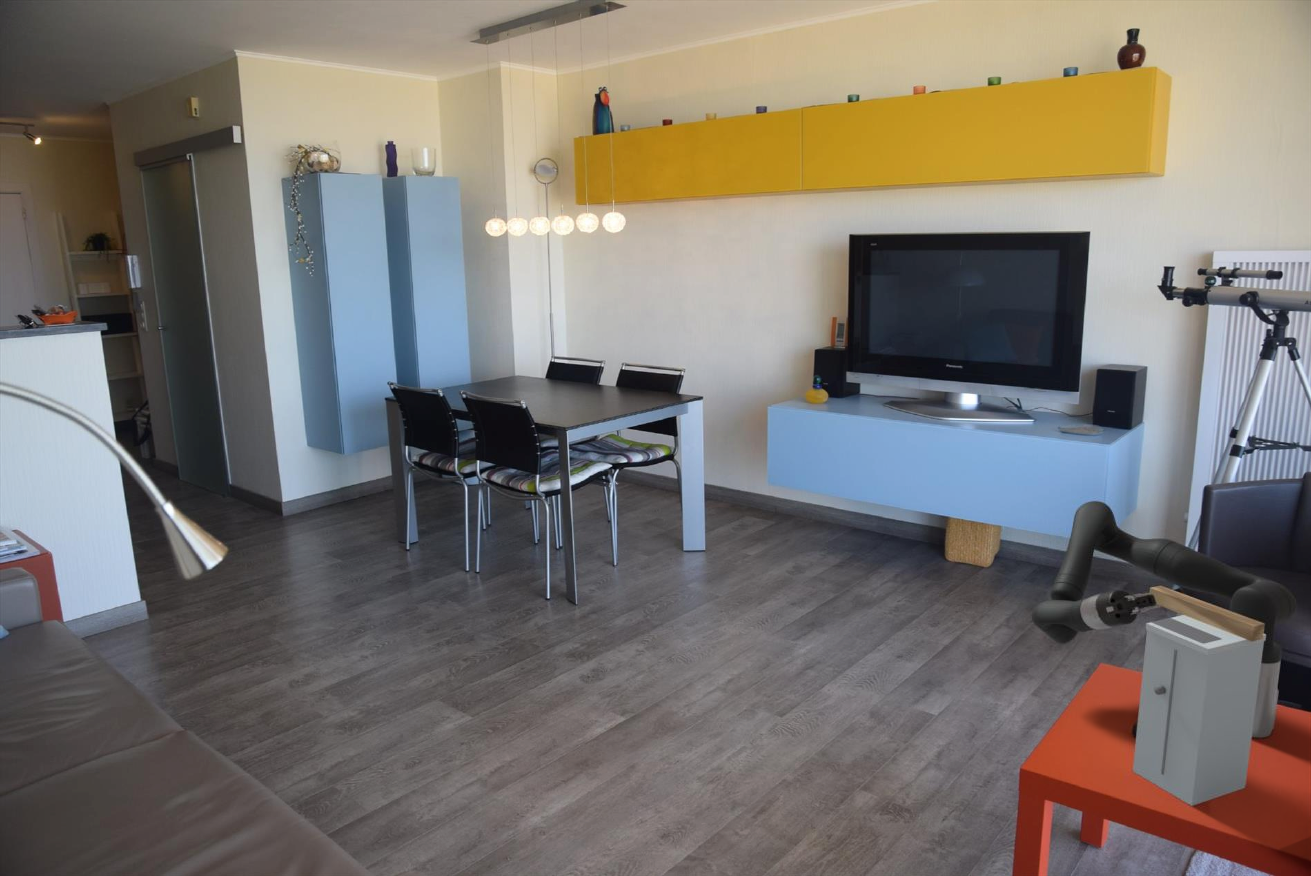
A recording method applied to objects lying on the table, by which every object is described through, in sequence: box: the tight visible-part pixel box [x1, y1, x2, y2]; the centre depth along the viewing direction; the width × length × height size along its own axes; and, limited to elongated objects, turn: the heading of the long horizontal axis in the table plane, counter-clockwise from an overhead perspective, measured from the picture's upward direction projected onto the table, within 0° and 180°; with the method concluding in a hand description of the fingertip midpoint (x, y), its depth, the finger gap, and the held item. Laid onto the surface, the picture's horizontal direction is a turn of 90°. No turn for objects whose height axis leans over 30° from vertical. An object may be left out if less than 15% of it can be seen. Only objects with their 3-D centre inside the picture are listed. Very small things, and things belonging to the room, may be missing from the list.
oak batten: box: [1148, 585, 1265, 641], centre depth 180 cm, size 3×22×3 cm, turn 23°
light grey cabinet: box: [1132, 614, 1266, 807], centre depth 179 cm, size 17×13×32 cm
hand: (1168, 596), depth 187 cm, fingers open, 8 cm apart
